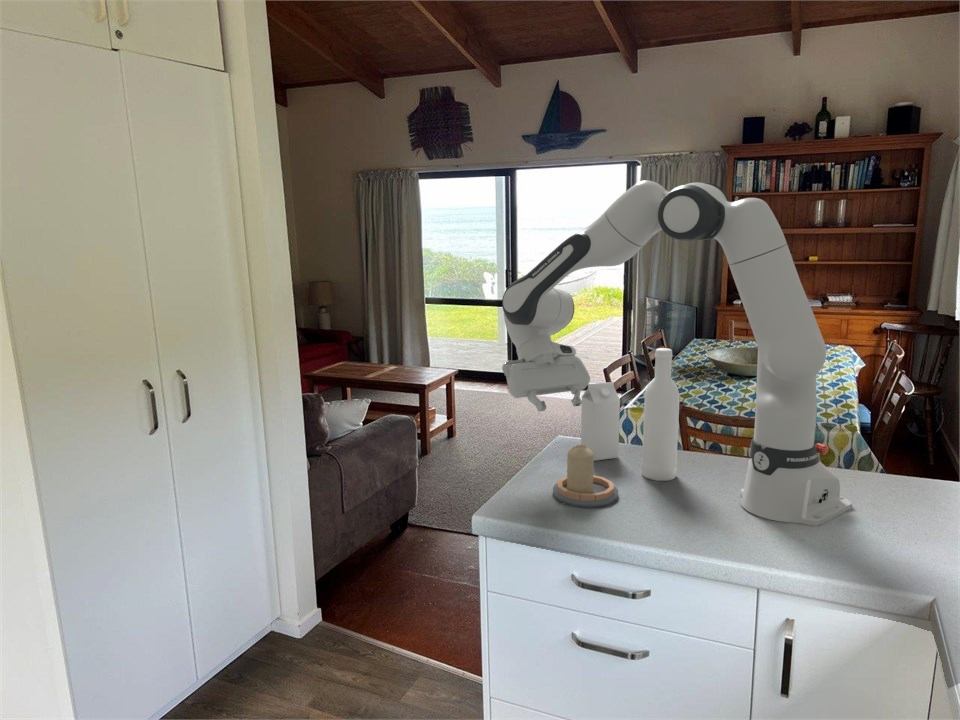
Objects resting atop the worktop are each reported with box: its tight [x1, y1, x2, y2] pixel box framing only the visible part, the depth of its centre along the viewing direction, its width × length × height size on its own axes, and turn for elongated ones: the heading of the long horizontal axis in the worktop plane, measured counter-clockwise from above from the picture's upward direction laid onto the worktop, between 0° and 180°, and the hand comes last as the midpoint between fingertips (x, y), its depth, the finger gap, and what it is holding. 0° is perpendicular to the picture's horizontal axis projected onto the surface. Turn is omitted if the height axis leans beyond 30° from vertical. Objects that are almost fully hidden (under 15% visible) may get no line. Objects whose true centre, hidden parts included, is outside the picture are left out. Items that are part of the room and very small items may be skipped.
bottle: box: [641, 347, 681, 482], centre depth 153 cm, size 8×8×30 cm
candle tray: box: [552, 474, 619, 509], centre depth 144 cm, size 14×14×2 cm
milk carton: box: [580, 381, 621, 462], centre depth 168 cm, size 7×7×19 cm
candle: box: [566, 444, 594, 493], centre depth 143 cm, size 6×6×10 cm
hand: (560, 407), depth 150 cm, fingers open, 8 cm apart
